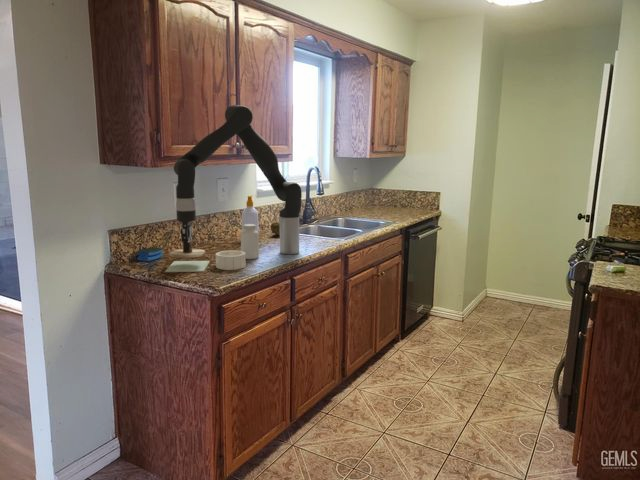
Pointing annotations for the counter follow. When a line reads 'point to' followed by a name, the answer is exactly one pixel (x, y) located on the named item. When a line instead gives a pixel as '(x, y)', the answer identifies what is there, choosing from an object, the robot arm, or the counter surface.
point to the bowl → (230, 260)
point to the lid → (190, 254)
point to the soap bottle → (250, 214)
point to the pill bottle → (250, 241)
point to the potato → (275, 228)
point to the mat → (187, 266)
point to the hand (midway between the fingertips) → (187, 250)
